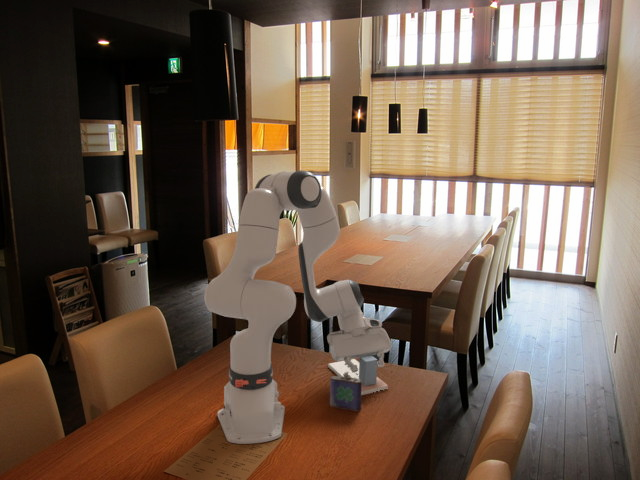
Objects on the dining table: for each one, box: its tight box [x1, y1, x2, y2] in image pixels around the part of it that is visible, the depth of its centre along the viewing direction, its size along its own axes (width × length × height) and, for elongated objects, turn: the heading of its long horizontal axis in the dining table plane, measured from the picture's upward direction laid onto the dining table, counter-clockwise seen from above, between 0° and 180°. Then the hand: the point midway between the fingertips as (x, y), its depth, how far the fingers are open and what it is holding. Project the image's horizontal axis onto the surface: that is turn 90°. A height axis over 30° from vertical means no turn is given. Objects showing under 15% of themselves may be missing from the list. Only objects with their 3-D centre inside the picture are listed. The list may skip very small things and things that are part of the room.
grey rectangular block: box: [358, 355, 378, 386], centre depth 166 cm, size 4×4×8 cm
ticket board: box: [327, 358, 389, 396], centre depth 173 cm, size 22×10×1 cm, turn 25°
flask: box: [329, 372, 362, 412], centre depth 154 cm, size 9×3×11 cm, turn 73°
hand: (368, 368), depth 166 cm, fingers open, 8 cm apart
